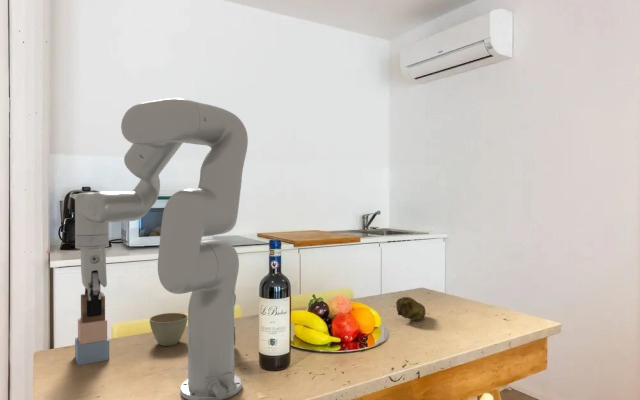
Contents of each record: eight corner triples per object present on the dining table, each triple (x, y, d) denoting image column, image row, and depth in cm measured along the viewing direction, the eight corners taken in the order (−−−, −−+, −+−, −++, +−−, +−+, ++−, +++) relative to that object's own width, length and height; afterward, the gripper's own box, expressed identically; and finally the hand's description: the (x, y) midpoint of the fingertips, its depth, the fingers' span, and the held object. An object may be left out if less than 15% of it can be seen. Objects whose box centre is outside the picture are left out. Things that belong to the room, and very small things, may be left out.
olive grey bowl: (176, 350, 118) (176, 323, 118) (142, 347, 120) (141, 321, 120) (194, 338, 128) (194, 313, 128) (162, 336, 130) (162, 311, 130)
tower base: (109, 360, 112) (109, 340, 112) (77, 366, 108) (77, 345, 108) (105, 351, 118) (105, 332, 118) (75, 357, 114) (75, 337, 114)
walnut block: (105, 319, 112) (105, 296, 112) (82, 323, 109) (82, 298, 109) (102, 315, 116) (102, 292, 116) (80, 318, 114) (80, 294, 113)
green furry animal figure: (435, 320, 146) (435, 296, 146) (404, 326, 140) (405, 300, 140) (418, 314, 154) (418, 291, 154) (388, 319, 147) (388, 295, 147)
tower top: (107, 340, 112) (107, 320, 112) (80, 344, 109) (79, 324, 108) (103, 333, 117) (103, 314, 117) (77, 337, 114) (77, 318, 113)
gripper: (113, 243, 107) (114, 318, 108) (104, 237, 122) (104, 304, 122) (78, 245, 103) (79, 323, 104) (72, 239, 118) (73, 307, 118)
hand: (92, 312), depth 113 cm, fingers open, 5 cm apart
